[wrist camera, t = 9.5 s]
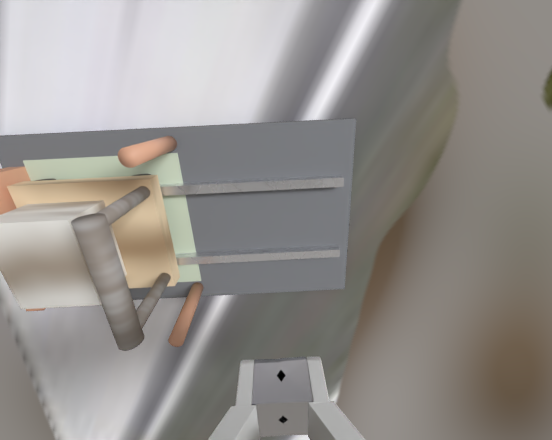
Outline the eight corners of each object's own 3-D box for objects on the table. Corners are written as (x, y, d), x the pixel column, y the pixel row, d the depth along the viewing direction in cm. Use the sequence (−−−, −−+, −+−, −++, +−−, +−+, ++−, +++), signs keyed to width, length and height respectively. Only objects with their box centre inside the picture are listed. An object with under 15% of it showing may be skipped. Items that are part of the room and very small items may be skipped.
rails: (24, 190, 23) (14, 194, 22) (341, 174, 23) (344, 177, 22) (57, 266, 26) (49, 271, 25) (337, 251, 26) (339, 256, 25)
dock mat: (0, 135, 22) (-12, 136, 21) (352, 118, 22) (356, 118, 22) (70, 297, 29) (63, 303, 28) (342, 283, 29) (344, 288, 28)
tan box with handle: (32, 178, 22) (-127, 225, 13) (162, 172, 23) (91, 214, 13) (72, 276, 26) (-30, 364, 17) (184, 271, 26) (139, 355, 17)
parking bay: (-2, 144, 22) (-117, 159, 15) (175, 135, 22) (136, 146, 15) (66, 298, 28) (4, 355, 21) (204, 291, 28) (184, 346, 21)
